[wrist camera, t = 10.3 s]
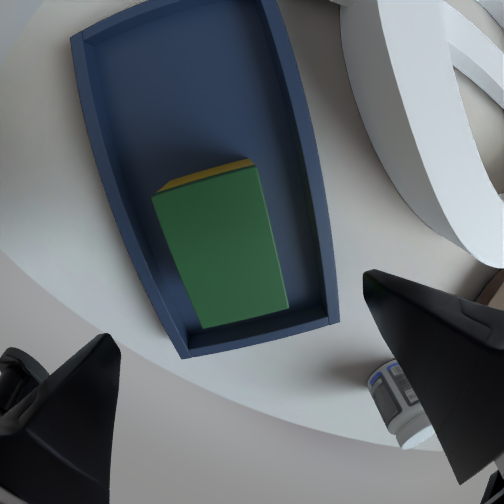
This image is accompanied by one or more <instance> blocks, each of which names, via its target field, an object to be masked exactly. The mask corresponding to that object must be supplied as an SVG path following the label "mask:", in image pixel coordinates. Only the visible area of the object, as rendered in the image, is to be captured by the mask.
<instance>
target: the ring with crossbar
mask: <svg viewBox="0 0 504 504" xmlns="http://www.w3.org/2000/svg"><path fill="white" fill-rule="evenodd" d="M329 1H332V2H335V3H337V4H340V29H341V40H342V47H343V53H344V59H345V64H346V68H347V72H348V76H349V81H350V84H351V87H352V91H353V95H354V98H355V101H356V104H357V107H358V110H359V113H360V115H361V118H362V121H363V123H364V126H365V128H366V131H367V133H368V135H369V138H370V140H371V143H372V145H373V147H374V149H375V151H376V153H377V155H378V157H379V159H380V161H381V163H382V165H383V167H384V169H385V171H386V172H387V174H388V176H389V178H390V179H391V181H392V183H393V184H394V186H395V187H396V189H397V191H398V192H399V193H400V195H401V196H402V198H403V199H404V201H405V202H406V203H407V204H408V206H409V207H410V208H411V209H412V211H413V212H414V213H415V214H416V215H417V216H418V217H419V218H420V219H421V220H422V221H423V222H424V223H425V224H426V225H427V226H429V227H430V228H431V229H433V230H434V231H435V232H437V233H438V234H440V235H441V236H443V237H445V238H446V239H448V240H449V241H451V242H453V243H454V244H456V245H457V246H459V247H460V248H462V249H463V250H465V251H466V252H468V253H469V254H471V255H472V256H474V257H475V258H476V259H478V260H479V261H481V262H483V263H484V264H486V265H488V266H491V267H495V268H504V193H502V194H500V195H498V194H497V192H496V191H495V189H494V187H493V185H492V183H491V181H490V179H489V177H488V175H487V173H486V170H485V168H484V166H483V163H482V160H481V158H480V155H479V153H478V150H477V147H476V144H475V141H474V138H473V135H472V132H471V129H470V126H469V123H468V120H467V116H466V113H465V110H464V106H463V103H462V99H461V96H460V92H459V88H458V85H457V81H456V77H455V73H454V69H453V66H455V67H456V68H457V69H459V70H460V71H461V72H462V73H464V74H465V75H466V76H467V77H469V78H470V79H471V80H472V81H473V82H475V83H476V84H477V85H478V86H479V87H480V88H482V89H483V90H484V91H485V92H486V93H487V94H488V95H489V96H490V97H491V98H492V99H494V100H495V101H496V102H497V103H498V104H499V105H500V106H501V107H502V108H503V109H504V54H503V53H502V52H501V51H500V49H499V48H498V47H497V46H496V45H495V44H494V43H493V42H492V41H491V40H490V39H489V38H488V37H487V36H485V35H484V34H483V33H482V32H481V31H480V30H479V29H478V28H477V27H476V26H475V25H473V24H472V23H471V22H470V21H469V20H468V19H466V18H465V17H464V16H463V15H462V14H460V13H459V12H458V11H457V10H455V9H454V8H453V7H452V6H450V5H449V4H448V3H446V2H445V1H443V0H329ZM476 1H477V2H478V3H479V4H480V5H482V6H483V7H484V8H485V9H486V10H487V11H488V12H489V13H490V14H491V15H492V17H493V18H494V19H495V20H496V21H497V23H498V24H499V25H500V26H501V28H502V29H503V31H504V0H476Z"/></svg>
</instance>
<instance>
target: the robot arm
mask: <svg viewBox="0 0 504 504" xmlns="http://www.w3.org/2000/svg"><path fill="white" fill-rule="evenodd" d="M363 295H364V299H365V301H366V303H367V305H368V307H369V310H370V312H371V314H372V316H373V318H374V320H375V322H376V325H377V327H378V329H379V331H380V333H381V335H382V337H383V339H384V340H385V342H386V344H387V345H388V347H389V349H390V350H391V352H392V354H393V355H394V357H395V359H396V361H397V362H398V364H399V366H400V367H401V369H402V371H403V373H404V374H405V376H406V378H407V380H408V382H409V383H410V385H411V387H412V389H413V391H414V392H415V394H416V396H417V398H418V400H419V402H420V404H421V405H422V407H423V409H424V411H425V413H426V415H427V417H428V419H429V421H430V423H431V425H432V427H433V429H434V431H435V433H436V434H437V437H438V439H439V441H440V443H441V446H442V448H443V450H444V452H445V454H446V456H447V458H448V461H449V463H450V465H451V467H452V469H453V472H454V474H455V476H456V479H457V481H458V483H459V485H461V484H463V483H464V482H466V481H467V480H469V479H470V478H472V477H473V476H474V475H476V474H477V473H479V472H480V471H481V470H483V469H484V468H485V467H486V466H488V465H489V464H490V463H492V462H493V461H495V463H496V465H497V467H498V470H497V471H496V472H495V473H493V474H492V475H491V476H490V478H489V481H488V484H487V487H486V490H485V493H484V496H483V498H482V500H481V503H480V504H504V310H501V309H497V308H493V307H489V306H486V305H482V304H479V303H476V302H473V301H470V300H467V299H464V298H461V297H459V298H458V296H455V295H452V294H449V293H446V292H443V291H440V290H437V289H434V288H431V287H428V286H425V285H422V284H419V283H416V282H413V281H410V280H407V279H404V278H401V277H398V276H395V275H392V274H388V273H385V272H382V271H379V270H376V269H373V270H369V271H366V272H364V274H363ZM120 362H121V352H120V349H119V347H118V346H117V344H116V343H115V341H114V340H113V338H112V337H111V335H110V334H108V333H104V334H99V335H97V336H96V337H95V338H94V339H93V340H91V341H90V342H89V343H88V344H86V345H85V346H84V347H83V348H82V349H80V350H79V351H78V352H77V353H76V354H75V355H73V356H72V357H71V358H70V359H69V360H68V361H66V362H65V363H64V364H63V365H62V366H61V367H59V368H58V369H57V370H56V371H55V372H54V373H52V374H51V375H50V376H49V377H48V378H47V379H46V380H44V381H43V382H42V383H41V384H39V383H38V382H37V381H36V379H35V378H34V377H33V376H32V375H31V373H30V372H29V371H28V370H27V368H26V367H25V366H24V365H23V363H21V362H19V361H18V362H0V371H1V373H2V374H1V376H0V504H109V497H110V496H109V495H110V494H109V492H110V490H109V488H110V487H109V486H110V465H111V451H112V440H113V429H114V421H115V412H116V405H117V398H118V391H119V376H120Z"/></svg>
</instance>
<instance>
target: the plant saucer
mask: <svg viewBox="0 0 504 504" xmlns="http://www.w3.org/2000/svg"><path fill="white" fill-rule="evenodd" d="M475 302H476V303H479V304H482V305H486V306H489V307H493V308H497V309H501V310H504V268H503V269H502V270H501V271H499V272H498V273H497V274H496V275H495V276H494V277H493V279H492V280H491V281H490V282H489V283H488V284H487V286H486V287H485V288H484V290H483V291H482V292H481V294H480V295H479V297H478V298H477V300H476V301H475Z"/></svg>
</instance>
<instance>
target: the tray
mask: <svg viewBox="0 0 504 504" xmlns="http://www.w3.org/2000/svg"><path fill="white" fill-rule="evenodd" d="M70 40H71V49H72V56H73V63H74V70H75V76H76V81H77V87H78V92H79V97H80V102H81V106H82V111H83V115H84V120H85V124H86V128H87V132H88V136H89V139H90V143H91V147H92V150H93V154H94V157H95V161H96V164H97V167H98V171H99V174H100V177H101V180H102V183H103V186H104V189H105V192H106V195H107V198H108V201H109V204H110V206H111V209H112V212H113V215H114V217H115V220H116V223H117V225H118V228H119V230H120V233H121V235H122V238H123V240H124V243H125V245H126V248H127V250H128V253H129V255H130V257H131V260H132V262H133V264H134V266H135V269H136V271H137V273H138V275H139V278H140V280H141V282H142V284H143V286H144V288H145V291H146V293H147V295H148V297H149V299H150V301H151V303H152V305H153V307H154V309H155V311H156V313H157V315H158V317H159V319H160V321H161V323H162V325H163V327H164V328H165V330H166V332H167V334H168V336H169V338H170V340H171V341H172V343H173V345H174V347H175V349H176V350H177V352H178V354H179V356H180V357H181V359H187V358H192V357H197V356H203V355H208V354H213V353H219V352H224V351H228V350H233V349H238V348H243V347H247V346H252V345H256V344H260V343H264V342H268V341H273V340H277V339H281V338H284V337H288V336H292V335H296V334H300V333H303V332H307V331H310V330H314V329H317V328H321V327H324V326H327V325H332V324H335V323H338V322H340V313H339V300H338V288H337V277H336V268H335V259H334V250H333V242H332V234H331V227H330V220H329V213H328V206H327V200H326V194H325V188H324V182H323V176H322V171H321V166H320V160H319V155H318V150H317V145H316V140H315V136H314V131H313V127H312V122H311V118H310V113H309V109H308V105H307V101H306V97H305V93H304V89H303V85H302V81H301V78H300V74H299V70H298V67H297V63H296V60H295V56H294V53H293V50H292V46H291V43H290V40H289V37H288V33H287V30H286V27H285V24H284V21H283V18H282V15H281V12H280V10H279V7H278V4H277V1H276V0H149V1H146V2H143V3H141V4H138V5H135V6H133V7H130V8H128V9H126V10H123V11H121V12H119V13H117V14H114V15H112V16H110V17H108V18H106V19H104V20H102V21H100V22H98V23H96V24H94V25H92V26H90V27H88V28H86V29H85V30H83V31H81V32H79V33H77V34H75V35H74V36H72V37H70ZM244 159H250V160H251V161H252V162H253V163H254V164H255V165H256V166H257V168H258V172H259V176H260V180H261V184H262V189H263V193H264V197H265V201H266V205H267V209H268V214H269V218H270V222H271V226H272V231H273V235H274V240H275V244H276V248H277V253H278V257H279V262H280V266H281V271H282V275H283V280H284V284H285V289H286V294H287V298H288V303H289V308H288V309H285V310H281V311H277V312H273V313H269V314H265V315H261V316H257V317H253V318H249V319H245V320H240V321H236V322H232V323H227V324H223V325H218V326H214V327H209V328H204V329H203V328H202V326H201V324H200V322H199V319H198V317H197V315H196V313H195V310H194V308H193V306H192V303H191V301H190V299H189V296H188V294H187V292H186V289H185V287H184V285H183V282H182V280H181V277H180V275H179V272H178V270H177V267H176V265H175V262H174V260H173V257H172V254H171V252H170V249H169V247H168V244H167V241H166V239H165V236H164V233H163V230H162V228H161V225H160V222H159V219H158V217H157V214H156V211H155V208H154V205H153V202H152V199H151V197H152V196H153V195H154V194H155V193H156V192H157V191H159V190H160V189H161V188H162V187H163V186H164V185H166V184H167V183H168V182H169V181H171V180H174V179H177V178H180V177H183V176H187V175H190V174H193V173H196V172H200V171H203V170H207V169H210V168H214V167H217V166H221V165H225V164H228V163H232V162H236V161H240V160H244Z"/></svg>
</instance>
